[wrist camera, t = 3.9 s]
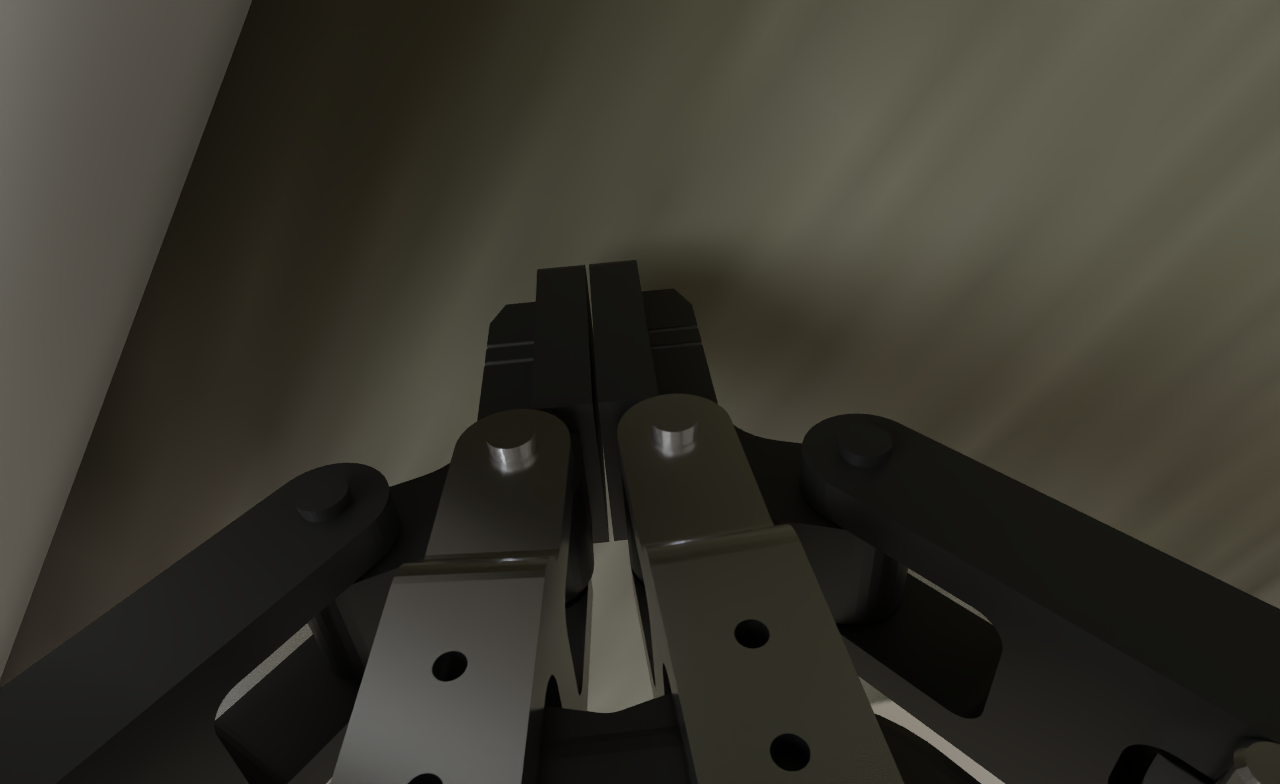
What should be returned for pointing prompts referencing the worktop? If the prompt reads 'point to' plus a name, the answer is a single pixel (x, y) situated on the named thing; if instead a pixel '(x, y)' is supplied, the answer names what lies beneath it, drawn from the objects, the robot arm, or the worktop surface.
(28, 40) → the tube
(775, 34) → the worktop surface
